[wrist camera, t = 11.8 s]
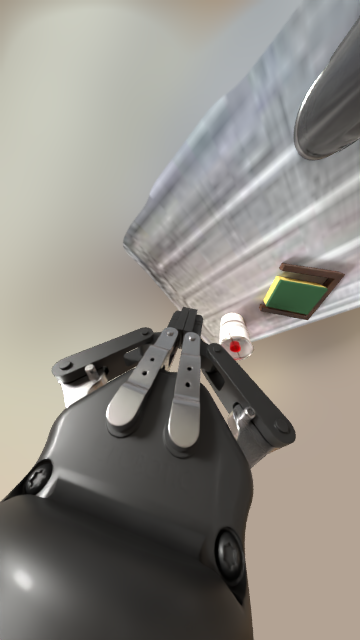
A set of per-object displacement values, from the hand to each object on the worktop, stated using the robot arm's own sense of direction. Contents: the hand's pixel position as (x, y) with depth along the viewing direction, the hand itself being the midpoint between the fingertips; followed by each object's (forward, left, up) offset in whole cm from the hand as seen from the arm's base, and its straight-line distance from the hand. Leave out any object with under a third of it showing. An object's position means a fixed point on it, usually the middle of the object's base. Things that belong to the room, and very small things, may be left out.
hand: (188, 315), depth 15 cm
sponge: (+5, +23, -27) cm, 36 cm away
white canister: (+18, +12, -27) cm, 35 cm away
